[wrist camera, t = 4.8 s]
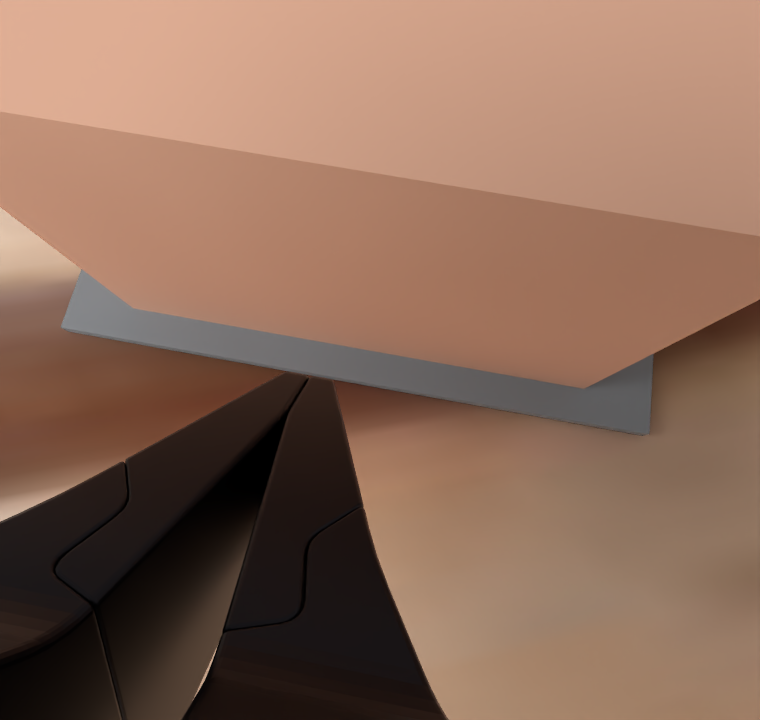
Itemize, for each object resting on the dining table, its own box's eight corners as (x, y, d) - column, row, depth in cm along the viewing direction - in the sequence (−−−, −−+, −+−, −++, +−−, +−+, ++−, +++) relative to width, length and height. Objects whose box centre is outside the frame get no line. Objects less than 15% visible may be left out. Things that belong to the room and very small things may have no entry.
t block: (584, 388, 15) (853, 252, 7) (133, 308, 16) (-161, 85, 7) (613, 42, 19) (820, -353, 10) (237, -14, 19) (122, -436, 10)
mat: (642, 435, 15) (649, 434, 15) (68, 331, 16) (60, 327, 16) (672, -116, 21) (677, -128, 21) (247, -175, 22) (245, -187, 22)
